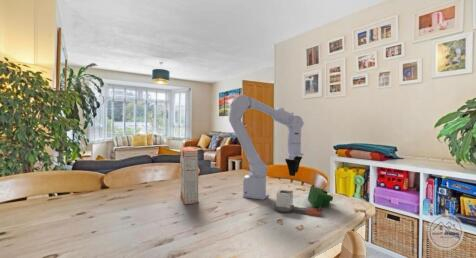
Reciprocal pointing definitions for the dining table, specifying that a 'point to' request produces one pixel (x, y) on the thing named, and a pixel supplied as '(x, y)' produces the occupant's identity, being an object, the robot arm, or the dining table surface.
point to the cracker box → (189, 175)
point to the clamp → (319, 197)
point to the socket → (284, 199)
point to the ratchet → (300, 210)
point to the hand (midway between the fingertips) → (293, 174)
